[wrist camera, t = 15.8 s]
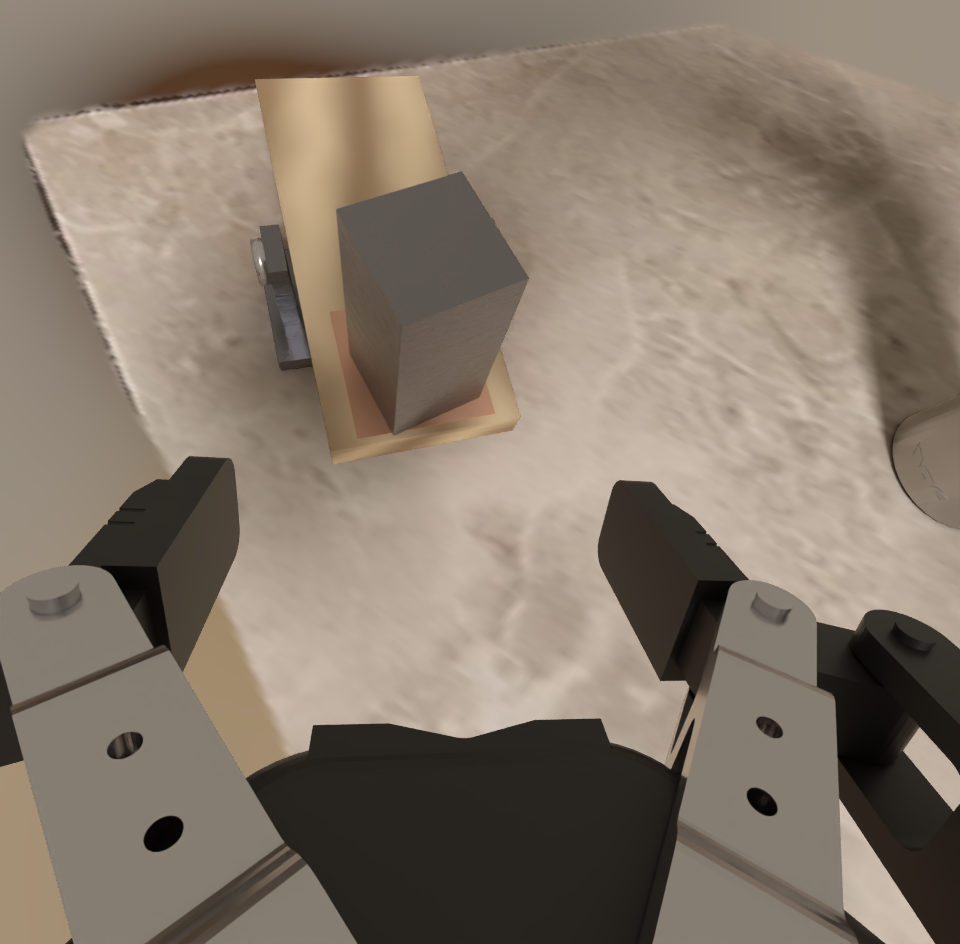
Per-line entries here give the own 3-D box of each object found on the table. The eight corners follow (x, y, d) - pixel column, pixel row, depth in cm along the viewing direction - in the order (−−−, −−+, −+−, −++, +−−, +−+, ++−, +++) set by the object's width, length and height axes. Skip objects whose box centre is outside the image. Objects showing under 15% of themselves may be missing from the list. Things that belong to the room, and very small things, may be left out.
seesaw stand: (465, 242, 39) (480, 171, 33) (494, 339, 37) (516, 281, 31) (261, 262, 36) (238, 187, 30) (281, 370, 34) (261, 312, 28)
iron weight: (435, 320, 30) (461, 171, 20) (479, 397, 29) (528, 278, 19) (349, 353, 28) (335, 209, 19) (393, 435, 27) (402, 326, 18)
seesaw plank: (416, 104, 37) (418, 72, 35) (512, 430, 31) (522, 414, 29) (261, 110, 34) (254, 76, 32) (333, 464, 29) (330, 450, 26)
